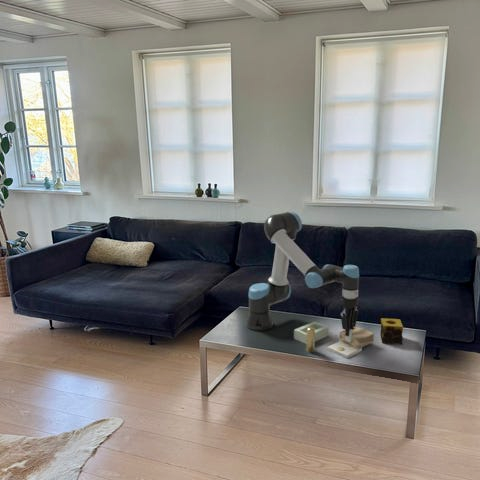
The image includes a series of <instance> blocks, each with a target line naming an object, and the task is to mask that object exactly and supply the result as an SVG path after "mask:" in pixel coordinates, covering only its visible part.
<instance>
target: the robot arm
mask: <svg viewBox="0 0 480 480" xmlns="http://www.w3.org/2000/svg"><path fill="white" fill-rule="evenodd" d="M263 227H264V228H263V229H264V233H265V236H266V238H267V239H268V240H269V241H270V243H271V244H275V250H274V255H273V256H274V257H273V264H272V271H271V276H269V277H268V279H267V283H266V282H260V283H259V282H258V283H255V284H252V285H251V286H250V287H249V289H248V295H247V296H248V315H247V318H246V319H245V320H246V321H245V326H246V327H247V329H250V330H253V331H266V330H269V329H272V328H273V325H274V322H273V321H274V320H273V318H272V314H271V310H270V306H273V305H275V304H277V303H281V302H284V301H286V300H287V299H289V298H290V296H291V294H292V287H291V284H290V282H289V280H288V278H287V275H288V270H289V264H290V261H291V263H292V264H294V266H295V267H296V268H297V269H298V270H299V271H300V272H301V274H303V276H304V282H305V285H306V286H307V287H308V288H310V289H315V288H320V287H322V286H324V285H327V284H331V283H334V282H337V283H340V284H342V291H341V292H342V293H341V294H342V298H341V304H342V305H343V307H342V312H341V311H340V312H339V316H340V319H341V327H342V330H345V335H346V338H345V341H347V342H352V329H353V330H354V329H355V328H353V327H355V326H356V327H357V325H356V324H357V319H358V315H359V312H360V307H358V305H359V282H360V268H359V266H357V265H354V264H346V265H344V266H343V267H341V266H338V265H334V264H328V263H327V264H325V265H324V266H323V267H322V268H321V269H320V268H319V267H318V266H317V265H316V264H315V263H314V262H313V261H312V260H311V259H310V258H309V256H308V255H307V254H306V253H305V252H304V251H303V250H302V249H301V248H300V246H298V245H297V244H296V242H295V241H294V240H296V239H297V238H296V237H297V233H298V232H299V231H301V229H302V227H303V221H302V218H300V215H299V214H298V213H296V212H294V211H286V212H281V213H277V214H272V215H270V216H269V217H267V219H266V220H265V221H264V226H263Z"/></svg>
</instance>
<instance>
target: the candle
mask: <svg viewBox="0 0 480 480" xmlns="http://www.w3.org/2000/svg"><path fill="white" fill-rule="evenodd" d="M403 330H404V326H403V324H402V321H401V319H398V318H385V317H384V318H383V317H382V318H380V333H379V334H380V339H381V343H382V344H386V345H387V344H388V345H400V346H401V345H402V346H403V332H404V331H403Z"/></svg>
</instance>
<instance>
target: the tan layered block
mask: <svg viewBox="0 0 480 480" xmlns="http://www.w3.org/2000/svg"><path fill="white" fill-rule="evenodd" d="M353 328H355V329H354V330H353V329H352V342H347V341H345V338H346V335H345V329H343V330H342V331H340V332H339V341H341V342H343V343H346V344H348V345H350V346H353V347H355V348H358V349H360V348H362V349H363V348H364V347H366V346H368V345H370V344H372V343H374V339H375V333H374V332H372V331H369V330H367V329H365V328H364V329H363V328H362V327H359V326H357V325H356V326H355V327H353Z"/></svg>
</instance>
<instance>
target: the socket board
mask: <svg viewBox="0 0 480 480" xmlns="http://www.w3.org/2000/svg"><path fill="white" fill-rule="evenodd" d="M307 327H314V328H315V343H316V342H317V341H320V340H322V339H324V338H326V337H329V334H330V333H329V329H330V328H329V326H327V325H324V324H323V323H320V322H317V321H312V322H310V323H307V324H304V325H302V326H299V327H297V328H295V329H294V330H293V338H294V340H296V341H298V342H301V343H303V344H305V345H306V337H307Z"/></svg>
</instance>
